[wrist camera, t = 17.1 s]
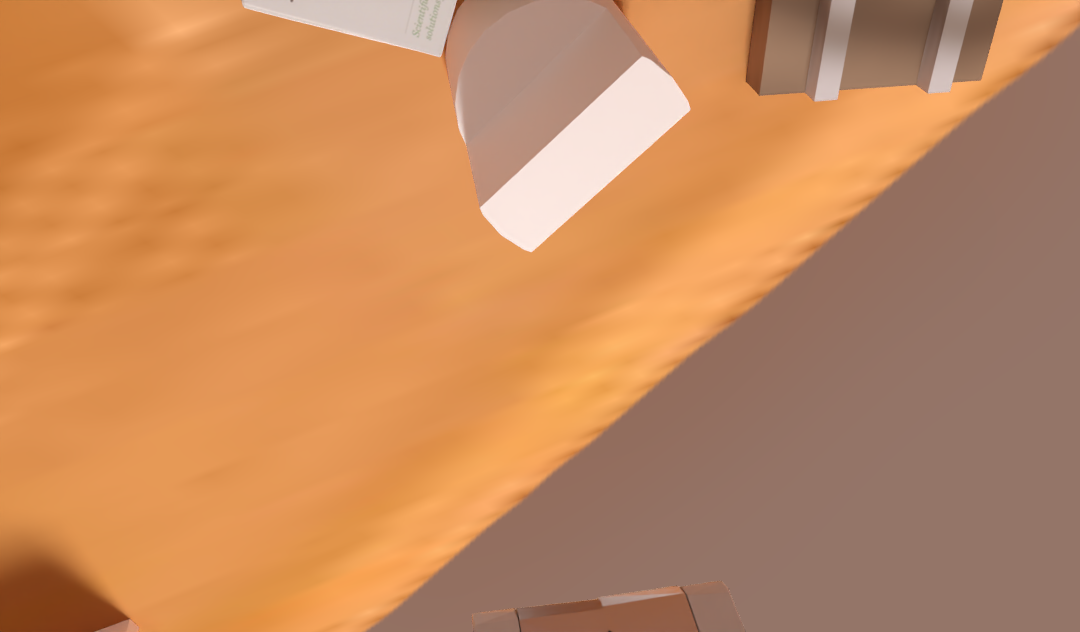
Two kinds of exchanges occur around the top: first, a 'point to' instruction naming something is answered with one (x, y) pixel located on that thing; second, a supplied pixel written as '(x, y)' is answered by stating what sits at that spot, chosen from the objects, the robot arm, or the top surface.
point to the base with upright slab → (552, 106)
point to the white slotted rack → (121, 627)
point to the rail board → (868, 44)
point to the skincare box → (372, 19)
